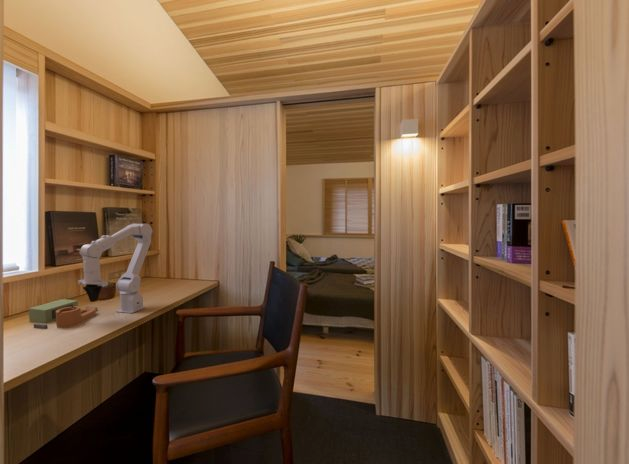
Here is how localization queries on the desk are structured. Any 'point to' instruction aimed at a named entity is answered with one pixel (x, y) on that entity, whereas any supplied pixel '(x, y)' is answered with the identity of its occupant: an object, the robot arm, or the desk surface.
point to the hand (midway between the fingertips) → (93, 301)
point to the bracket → (73, 316)
